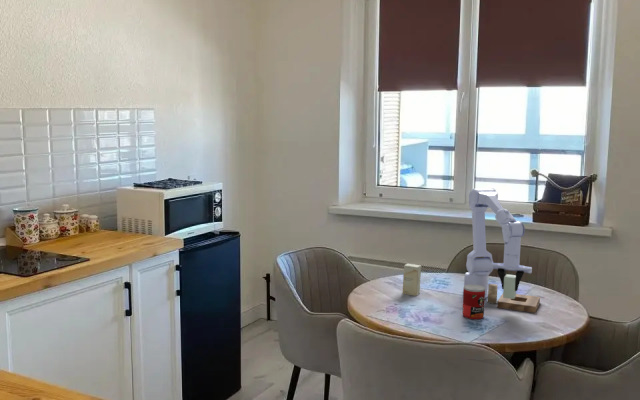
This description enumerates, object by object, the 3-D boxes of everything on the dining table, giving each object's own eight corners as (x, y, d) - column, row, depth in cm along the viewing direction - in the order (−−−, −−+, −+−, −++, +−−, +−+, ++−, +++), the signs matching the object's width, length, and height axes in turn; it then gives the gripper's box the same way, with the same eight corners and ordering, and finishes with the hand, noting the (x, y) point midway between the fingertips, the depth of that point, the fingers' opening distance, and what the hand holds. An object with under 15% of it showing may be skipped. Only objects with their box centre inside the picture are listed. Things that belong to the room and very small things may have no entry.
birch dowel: (486, 302, 241) (487, 285, 240) (488, 300, 244) (489, 283, 244) (495, 304, 240) (496, 286, 239) (497, 301, 243) (498, 284, 242)
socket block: (497, 307, 236) (497, 301, 235) (503, 297, 248) (503, 292, 248) (535, 312, 229) (535, 306, 229) (539, 302, 242) (540, 297, 242)
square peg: (503, 297, 228) (504, 276, 227) (504, 294, 232) (505, 274, 230) (514, 299, 226) (515, 278, 225) (515, 296, 230) (516, 275, 229)
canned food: (472, 320, 219) (473, 291, 218) (457, 314, 227) (458, 285, 225) (488, 317, 223) (490, 288, 222) (473, 311, 230) (474, 283, 229)
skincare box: (402, 293, 252) (403, 265, 250) (406, 291, 256) (407, 263, 254) (416, 296, 249) (417, 267, 247) (420, 293, 253) (421, 264, 251)
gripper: (490, 253, 226) (488, 289, 228) (530, 258, 220) (528, 294, 222) (493, 250, 233) (491, 284, 235) (533, 254, 226) (531, 289, 228)
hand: (509, 289), depth 229 cm, fingers closed on square peg, 4 cm apart
